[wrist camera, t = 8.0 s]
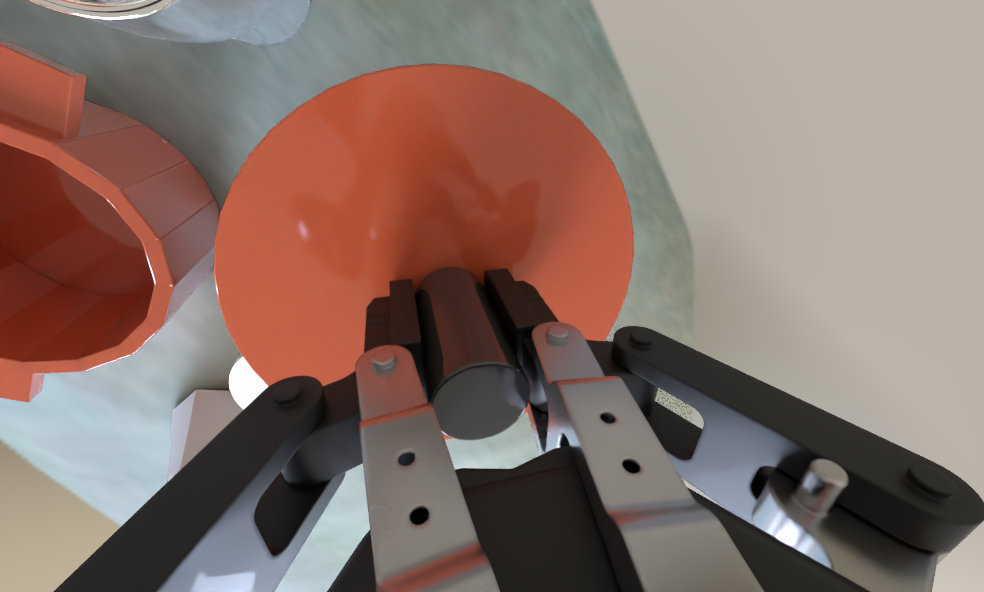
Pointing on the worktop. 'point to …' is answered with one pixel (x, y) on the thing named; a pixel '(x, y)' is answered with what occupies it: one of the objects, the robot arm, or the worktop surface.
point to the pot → (87, 227)
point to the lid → (421, 231)
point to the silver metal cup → (194, 18)
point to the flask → (198, 424)
